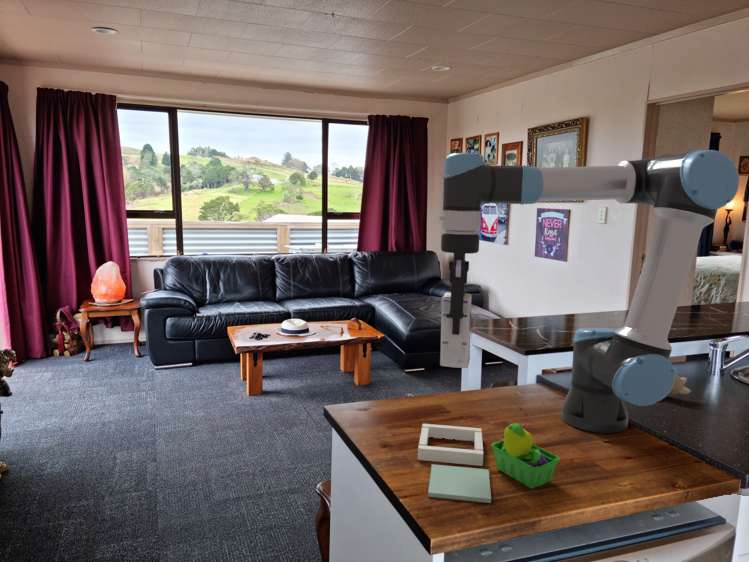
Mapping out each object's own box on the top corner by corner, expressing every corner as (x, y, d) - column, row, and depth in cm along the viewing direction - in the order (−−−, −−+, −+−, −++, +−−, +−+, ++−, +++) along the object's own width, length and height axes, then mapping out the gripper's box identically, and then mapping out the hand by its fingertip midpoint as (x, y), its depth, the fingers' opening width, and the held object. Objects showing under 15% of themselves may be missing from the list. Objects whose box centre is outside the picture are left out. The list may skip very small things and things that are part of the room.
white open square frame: (480, 439, 125) (481, 428, 125) (482, 465, 112) (483, 454, 112) (422, 434, 127) (422, 423, 127) (417, 459, 114) (418, 448, 114)
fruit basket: (560, 483, 106) (564, 426, 104) (527, 495, 101) (531, 436, 100) (515, 459, 115) (518, 406, 114) (483, 469, 111) (486, 415, 109)
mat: (488, 473, 109) (488, 469, 109) (491, 503, 98) (491, 498, 98) (431, 468, 111) (431, 464, 111) (428, 496, 100) (428, 492, 100)
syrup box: (468, 368, 113) (471, 297, 111) (438, 366, 114) (441, 295, 112) (469, 361, 118) (472, 292, 116) (441, 358, 119) (444, 291, 117)
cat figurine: (636, 370, 159) (683, 364, 154) (641, 391, 161) (688, 386, 156) (639, 386, 152) (688, 381, 147) (644, 408, 154) (693, 403, 149)
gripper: (444, 229, 122) (439, 334, 125) (439, 234, 104) (434, 356, 107) (479, 230, 121) (473, 336, 124) (480, 235, 102) (474, 359, 106)
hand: (455, 345), depth 115 cm, fingers closed on syrup box, 6 cm apart
